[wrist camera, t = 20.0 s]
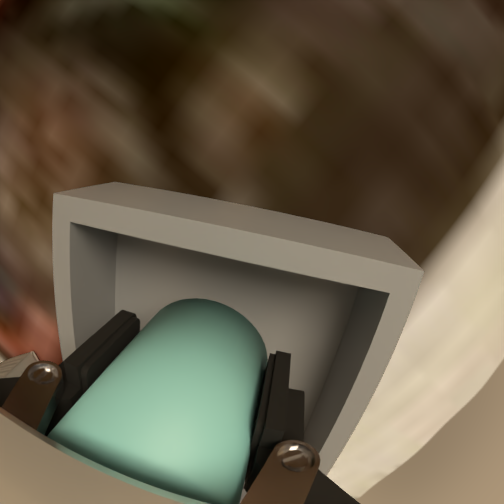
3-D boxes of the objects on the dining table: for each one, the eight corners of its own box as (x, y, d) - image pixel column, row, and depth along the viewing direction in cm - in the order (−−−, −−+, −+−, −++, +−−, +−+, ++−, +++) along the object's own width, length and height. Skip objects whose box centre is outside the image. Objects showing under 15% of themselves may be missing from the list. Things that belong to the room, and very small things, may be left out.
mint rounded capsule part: (150, 283, 12) (25, 392, 5) (281, 317, 11) (255, 483, 5) (145, 382, 13) (67, 497, 6) (253, 414, 13) (219, 555, 6)
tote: (115, 181, 16) (53, 193, 11) (387, 237, 15) (424, 271, 10) (117, 422, 21) (89, 466, 16) (295, 470, 20) (291, 524, 15)
